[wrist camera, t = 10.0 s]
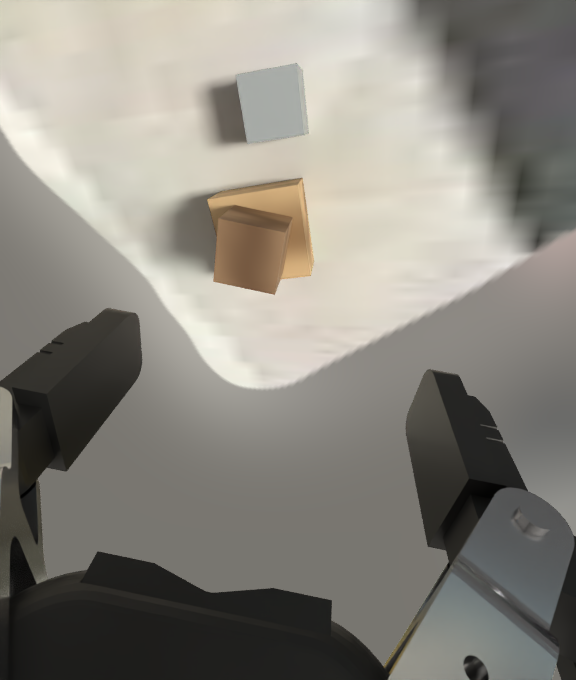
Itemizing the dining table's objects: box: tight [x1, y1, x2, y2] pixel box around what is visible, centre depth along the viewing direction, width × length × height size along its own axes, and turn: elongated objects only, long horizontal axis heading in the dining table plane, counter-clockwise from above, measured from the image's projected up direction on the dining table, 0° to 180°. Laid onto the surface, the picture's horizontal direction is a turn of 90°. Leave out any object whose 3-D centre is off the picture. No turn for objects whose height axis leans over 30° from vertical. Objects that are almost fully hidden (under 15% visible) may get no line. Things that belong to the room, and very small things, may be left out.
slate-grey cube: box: [236, 63, 309, 144], centre depth 27 cm, size 4×4×4 cm
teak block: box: [207, 178, 314, 279], centre depth 32 cm, size 7×7×4 cm
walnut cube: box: [213, 205, 293, 295], centre depth 28 cm, size 4×4×4 cm
